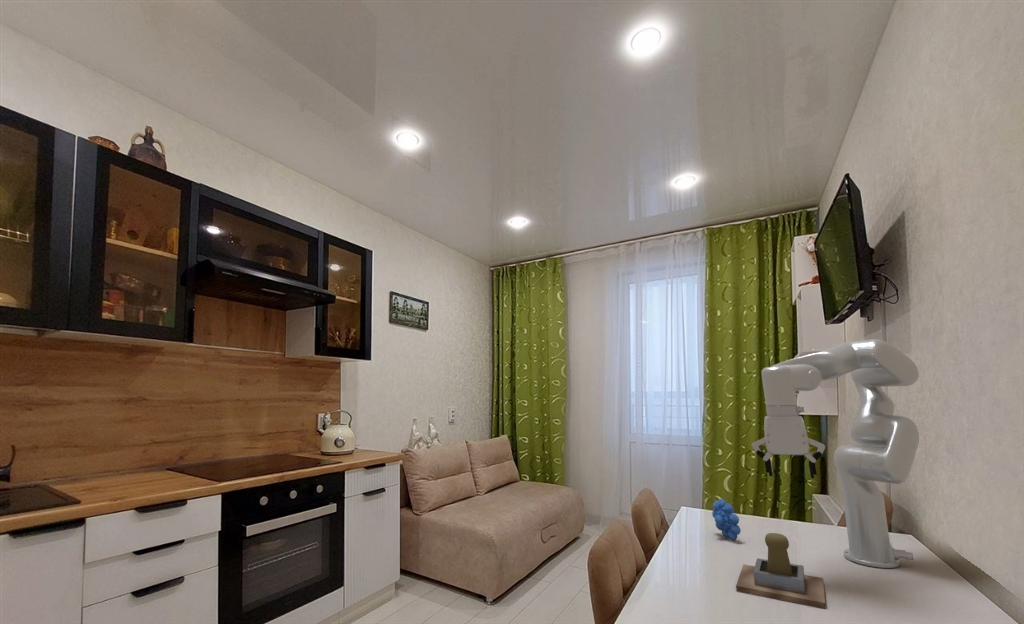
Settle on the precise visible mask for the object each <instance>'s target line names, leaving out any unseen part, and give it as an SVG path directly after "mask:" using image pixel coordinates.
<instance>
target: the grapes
mask: <svg viewBox="0 0 1024 624" xmlns="http://www.w3.org/2000/svg"><path fill="white" fill-rule="evenodd" d="M712 507H713V510H712V512H711V515H712V518H714V522H715V527H716V528H717V530H719V531H721V535H722V536H723V537H724V539H730V540H732V541H736V540H737V539H738V536H739V535H740V534H741V528H740V526H739V525H738V524H740V523H739V522H740V518H739V516H738V515H737V514H736V513H734V511H735V509H734V507H733V505H732V504H730V503H729V502H728V503H727V501H725V499H723V498H719V499H718V501H717V500H715V501H714V502H713V503H712Z"/></svg>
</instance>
